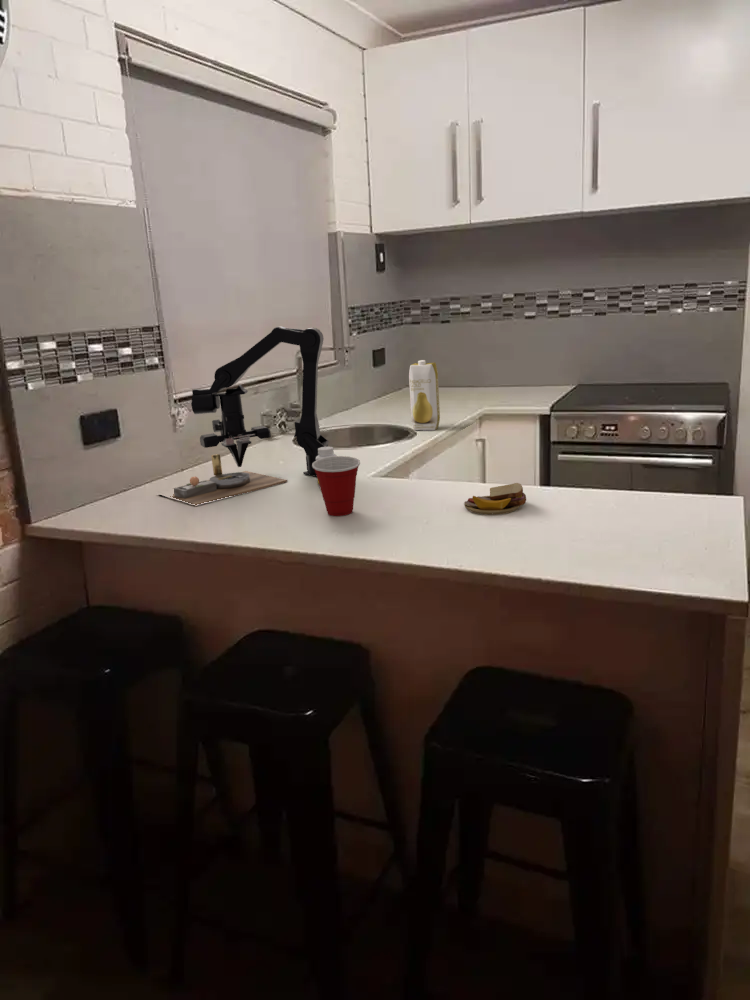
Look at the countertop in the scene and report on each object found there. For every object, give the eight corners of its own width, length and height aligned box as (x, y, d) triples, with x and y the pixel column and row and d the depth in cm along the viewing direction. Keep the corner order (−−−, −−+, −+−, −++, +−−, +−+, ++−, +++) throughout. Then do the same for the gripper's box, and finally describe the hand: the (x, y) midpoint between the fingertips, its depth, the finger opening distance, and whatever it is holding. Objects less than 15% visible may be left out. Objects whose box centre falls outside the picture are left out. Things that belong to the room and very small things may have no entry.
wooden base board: (287, 482, 203) (286, 471, 202) (195, 506, 185) (194, 495, 184) (246, 472, 217) (244, 463, 217) (157, 494, 199) (155, 484, 199)
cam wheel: (216, 477, 211) (213, 454, 209) (256, 477, 207) (253, 453, 206) (196, 488, 200) (192, 464, 198) (238, 488, 196) (235, 463, 195)
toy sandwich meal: (469, 500, 174) (468, 480, 173) (528, 500, 171) (528, 480, 169) (460, 516, 163) (459, 495, 162) (523, 517, 159) (523, 495, 158)
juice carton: (410, 431, 263) (406, 361, 256) (416, 427, 270) (412, 359, 263) (436, 431, 260) (433, 360, 253) (441, 426, 267) (438, 358, 261)
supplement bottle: (316, 485, 197) (312, 447, 194) (336, 482, 198) (333, 444, 196) (321, 490, 192) (317, 451, 189) (342, 487, 193) (338, 448, 190)
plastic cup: (321, 522, 165) (316, 469, 161) (312, 510, 175) (307, 459, 171) (369, 515, 167) (365, 462, 164) (357, 503, 177) (353, 453, 174)
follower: (215, 488, 198) (213, 473, 197) (188, 495, 193) (186, 479, 192) (209, 487, 200) (207, 471, 199) (182, 494, 195) (180, 478, 194)
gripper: (256, 404, 218) (262, 456, 222) (191, 413, 210) (200, 467, 214) (267, 407, 208) (274, 462, 212) (200, 417, 200) (209, 474, 205)
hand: (239, 466), depth 211 cm, fingers closed
